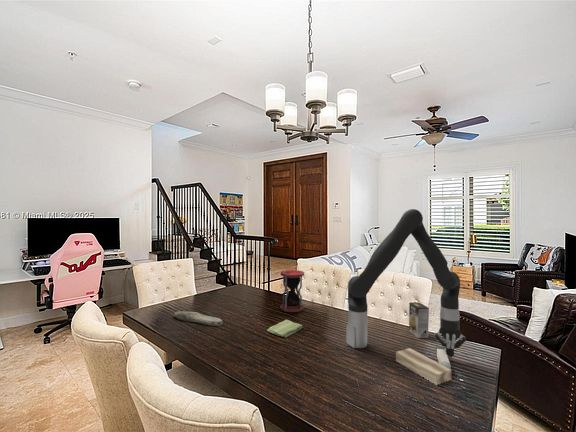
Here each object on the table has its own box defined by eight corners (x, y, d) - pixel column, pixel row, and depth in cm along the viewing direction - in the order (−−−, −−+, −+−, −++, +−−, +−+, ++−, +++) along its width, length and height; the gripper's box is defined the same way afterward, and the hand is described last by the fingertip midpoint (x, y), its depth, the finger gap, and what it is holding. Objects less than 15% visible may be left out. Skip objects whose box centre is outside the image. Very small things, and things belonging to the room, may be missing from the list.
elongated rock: (215, 331, 160) (226, 326, 169) (216, 321, 160) (227, 317, 169) (169, 318, 174) (181, 314, 183) (169, 309, 174) (181, 305, 183)
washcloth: (265, 332, 155) (265, 327, 155) (286, 323, 169) (286, 318, 169) (283, 339, 147) (283, 333, 147) (304, 329, 160) (304, 323, 160)
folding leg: (451, 375, 114) (451, 366, 114) (441, 373, 115) (441, 364, 115) (444, 354, 131) (444, 346, 131) (435, 353, 132) (435, 345, 132)
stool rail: (436, 385, 108) (436, 374, 108) (395, 360, 126) (395, 351, 126) (451, 380, 111) (451, 369, 111) (409, 356, 129) (409, 348, 129)
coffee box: (408, 331, 159) (408, 302, 158) (419, 330, 159) (419, 302, 159) (417, 338, 149) (417, 307, 149) (428, 337, 150) (429, 307, 150)
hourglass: (289, 303, 207) (289, 268, 206) (308, 307, 197) (308, 271, 197) (275, 309, 193) (275, 272, 193) (295, 314, 184) (295, 275, 184)
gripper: (434, 318, 126) (434, 357, 126) (468, 321, 121) (469, 362, 121) (432, 313, 133) (432, 350, 133) (464, 316, 129) (465, 354, 128)
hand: (450, 356), depth 127 cm, fingers closed
